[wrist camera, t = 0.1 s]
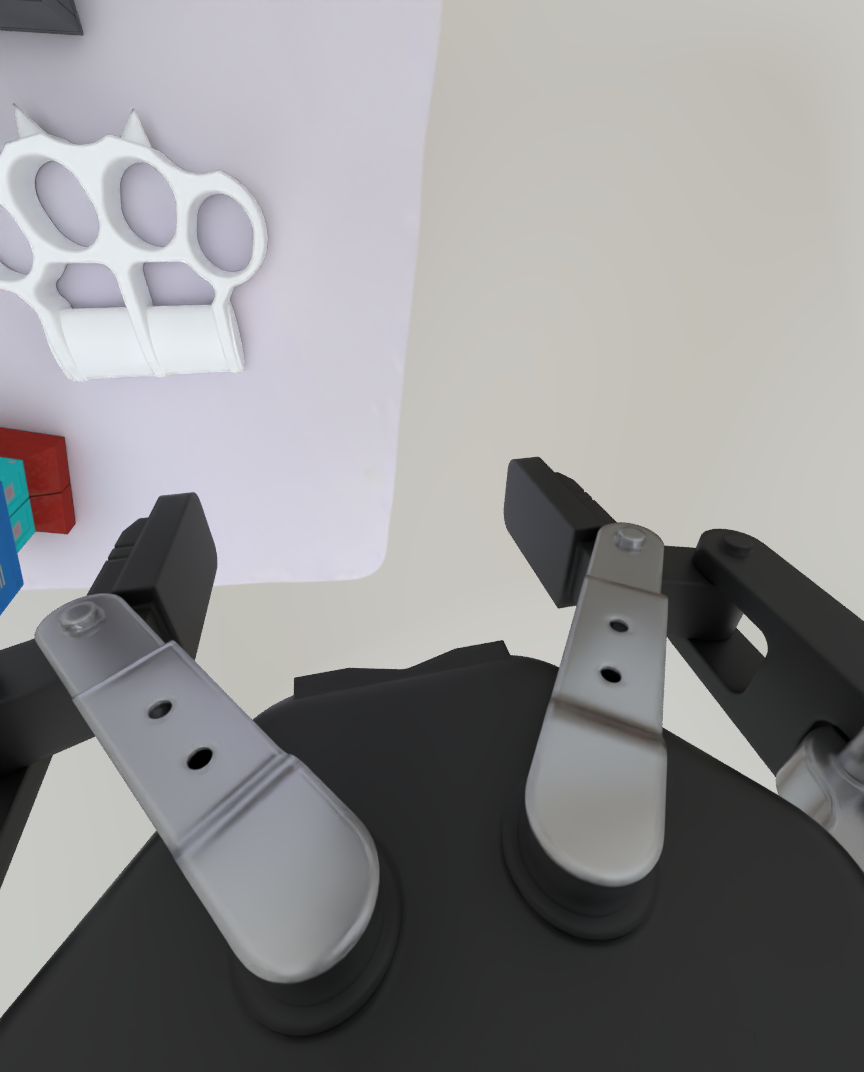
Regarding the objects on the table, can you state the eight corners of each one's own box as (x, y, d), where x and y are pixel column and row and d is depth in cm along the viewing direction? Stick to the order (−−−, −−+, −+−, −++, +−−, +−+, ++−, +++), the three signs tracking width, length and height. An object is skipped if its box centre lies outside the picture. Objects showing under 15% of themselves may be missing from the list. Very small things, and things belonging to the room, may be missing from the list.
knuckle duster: (34, 375, 34) (-97, 103, 25) (289, 362, 37) (248, 117, 29) (10, 389, 31) (-145, 90, 23) (288, 373, 34) (242, 107, 26)
